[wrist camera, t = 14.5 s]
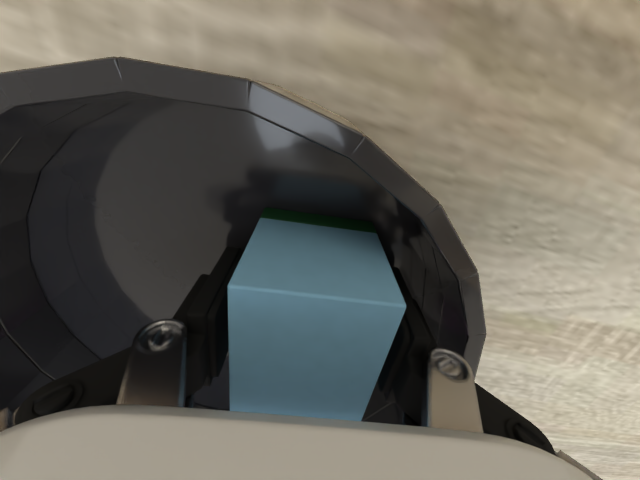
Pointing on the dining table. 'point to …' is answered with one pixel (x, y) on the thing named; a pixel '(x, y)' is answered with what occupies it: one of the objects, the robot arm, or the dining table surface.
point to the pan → (184, 210)
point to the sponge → (310, 316)
